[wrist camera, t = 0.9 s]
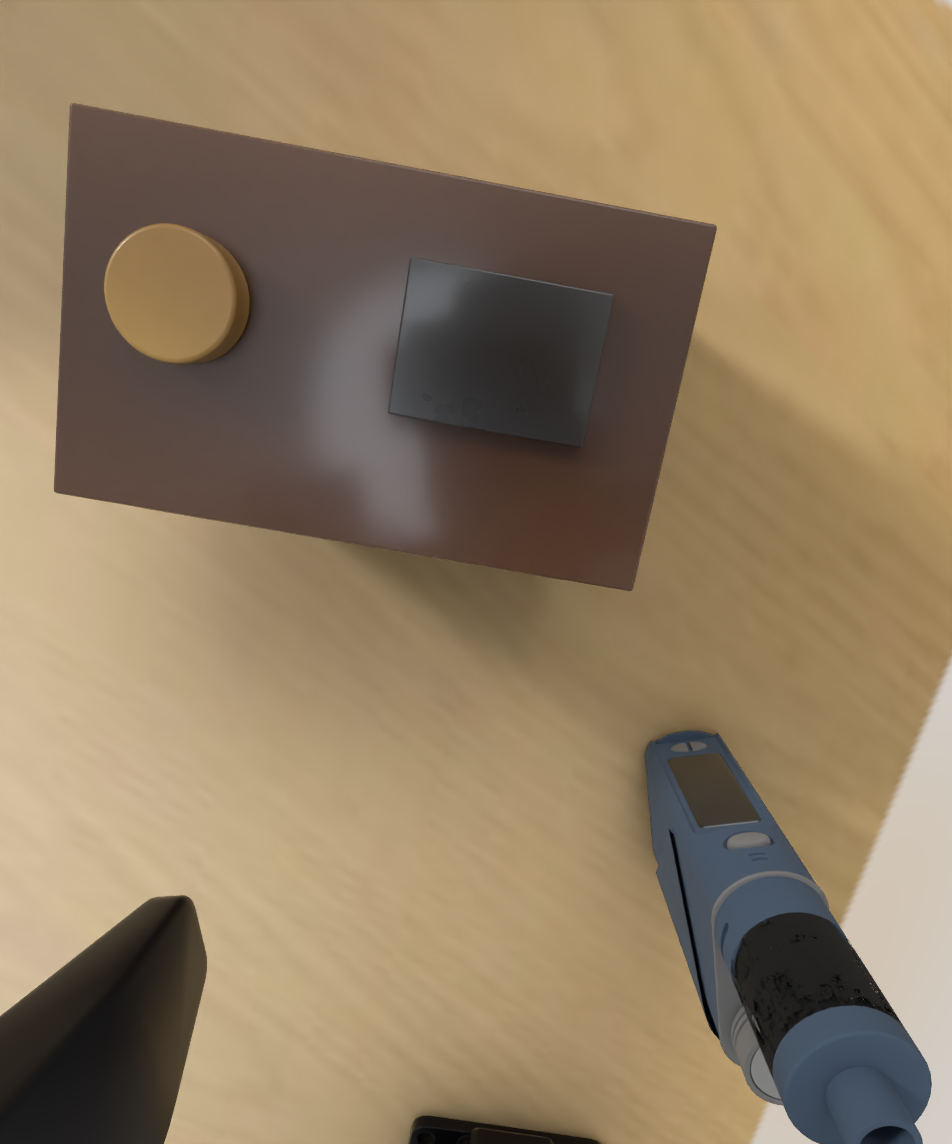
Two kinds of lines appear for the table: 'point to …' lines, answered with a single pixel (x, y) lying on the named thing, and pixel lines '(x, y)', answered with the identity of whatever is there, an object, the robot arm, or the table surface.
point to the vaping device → (775, 956)
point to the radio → (367, 349)
